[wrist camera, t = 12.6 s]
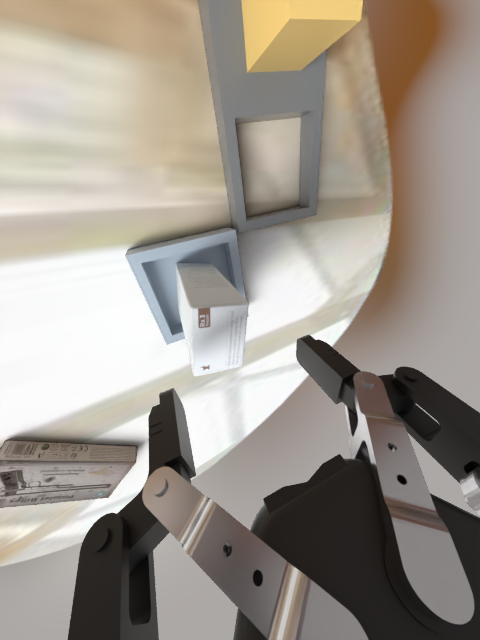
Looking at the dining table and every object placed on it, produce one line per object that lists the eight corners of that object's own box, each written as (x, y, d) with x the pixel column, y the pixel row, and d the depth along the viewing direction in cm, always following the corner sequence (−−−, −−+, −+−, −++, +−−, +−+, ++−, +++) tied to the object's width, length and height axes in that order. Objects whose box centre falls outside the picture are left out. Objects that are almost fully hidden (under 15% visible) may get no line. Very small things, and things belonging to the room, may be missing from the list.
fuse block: (196, -8, 14) (235, -171, 8) (313, -1, 17) (416, -124, 10) (233, 230, 23) (264, 243, 17) (305, 213, 26) (357, 219, 19)
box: (112, 479, 38) (109, 498, 36) (-22, 486, 28) (-38, 514, 26) (139, 443, 36) (138, 461, 33) (4, 437, 26) (-11, 463, 23)
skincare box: (211, 306, 27) (247, 369, 17) (176, 310, 25) (193, 381, 15) (211, 259, 23) (255, 302, 14) (171, 260, 22) (189, 309, 12)
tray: (127, 249, 20) (125, 255, 18) (228, 227, 23) (235, 229, 21) (165, 333, 27) (166, 344, 25) (241, 308, 29) (248, 316, 27)
